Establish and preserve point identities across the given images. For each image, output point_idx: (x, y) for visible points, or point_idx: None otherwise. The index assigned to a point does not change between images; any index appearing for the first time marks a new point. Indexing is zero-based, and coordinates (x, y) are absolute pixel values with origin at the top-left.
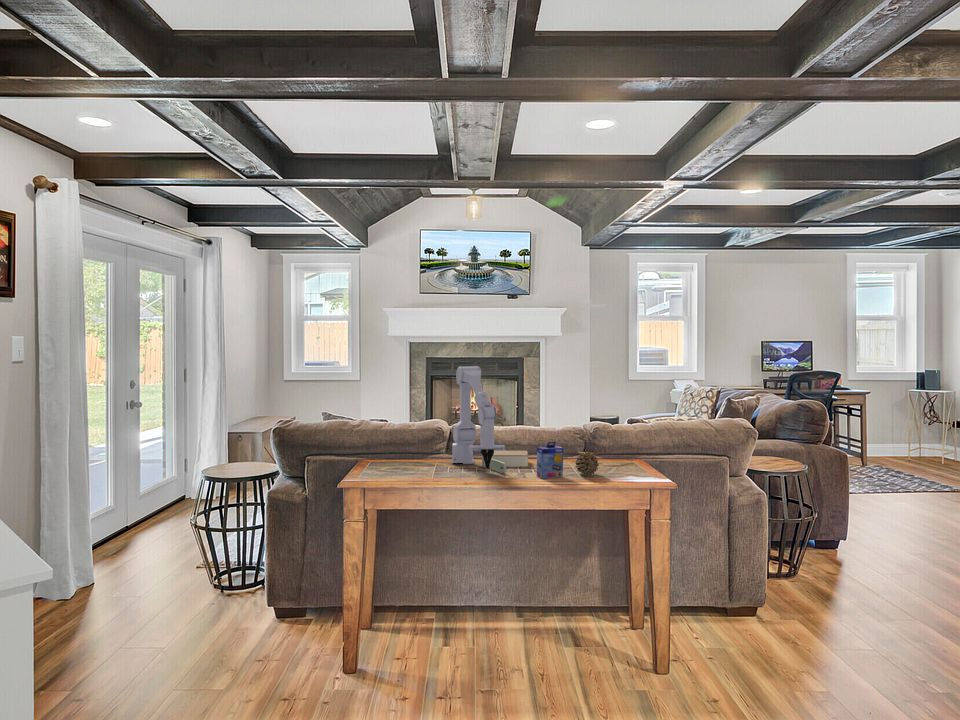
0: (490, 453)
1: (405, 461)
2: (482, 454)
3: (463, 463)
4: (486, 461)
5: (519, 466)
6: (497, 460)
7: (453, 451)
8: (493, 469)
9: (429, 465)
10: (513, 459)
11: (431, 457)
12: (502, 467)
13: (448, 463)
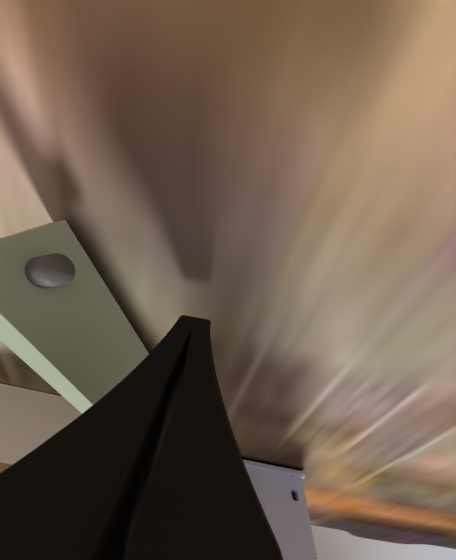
0: (25, 541)
1: (426, 514)
2: (270, 530)
3: (262, 465)
4: (195, 368)
5: (8, 385)
6: (74, 406)
7: (311, 554)
8: (147, 354)
9: (399, 476)
10: (3, 434)
11: (317, 518)
12: (34, 259)
13: (310, 477)
